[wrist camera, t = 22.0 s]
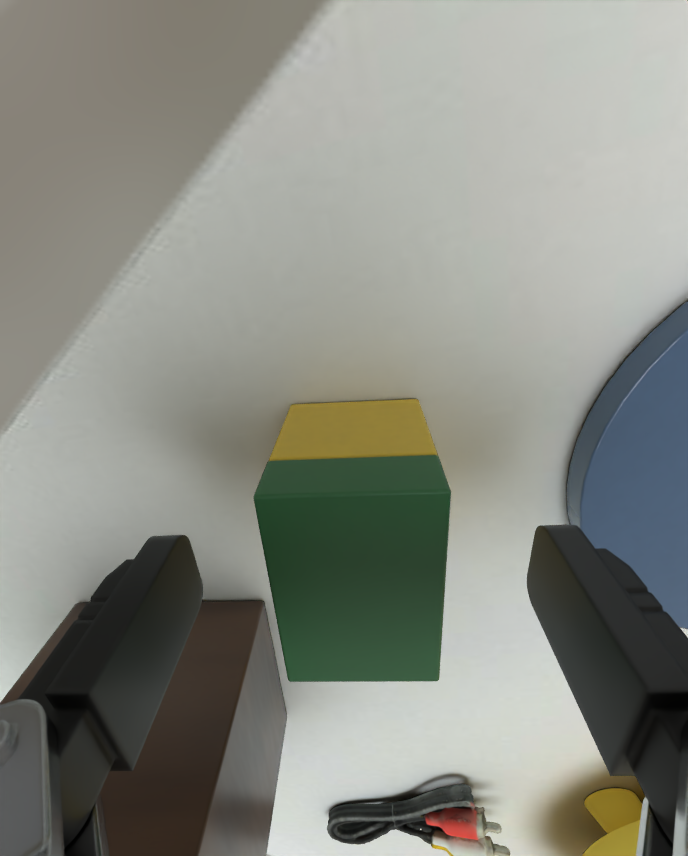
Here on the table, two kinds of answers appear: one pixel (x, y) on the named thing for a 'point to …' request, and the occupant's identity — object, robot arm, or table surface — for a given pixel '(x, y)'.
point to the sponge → (356, 541)
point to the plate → (640, 466)
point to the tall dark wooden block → (201, 744)
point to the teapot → (615, 822)
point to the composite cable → (422, 822)
